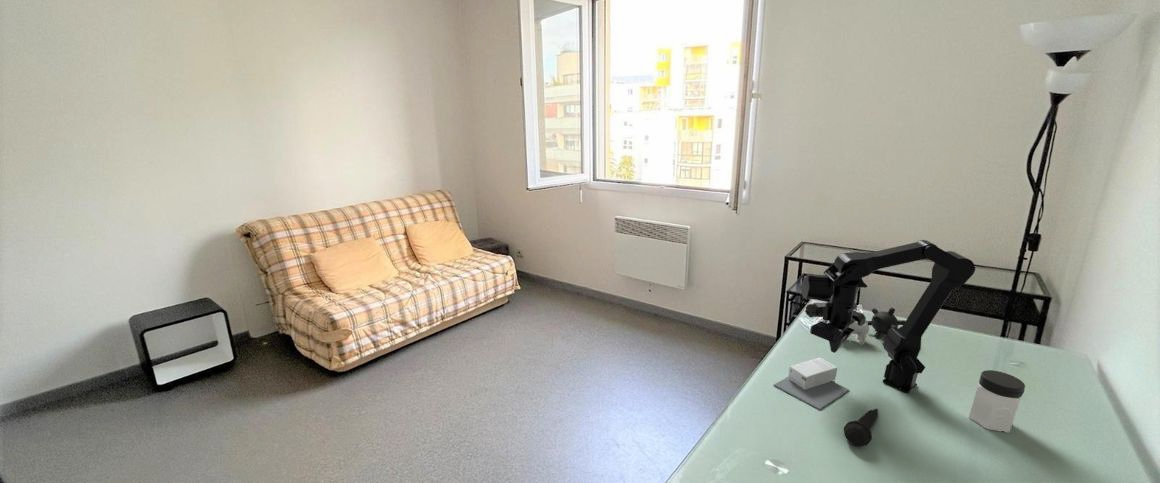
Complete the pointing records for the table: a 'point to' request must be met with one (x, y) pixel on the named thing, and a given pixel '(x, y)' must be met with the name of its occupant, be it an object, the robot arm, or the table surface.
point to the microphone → (861, 429)
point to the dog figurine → (860, 330)
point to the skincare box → (812, 373)
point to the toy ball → (884, 321)
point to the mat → (813, 392)
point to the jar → (996, 400)
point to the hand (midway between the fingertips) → (833, 351)
